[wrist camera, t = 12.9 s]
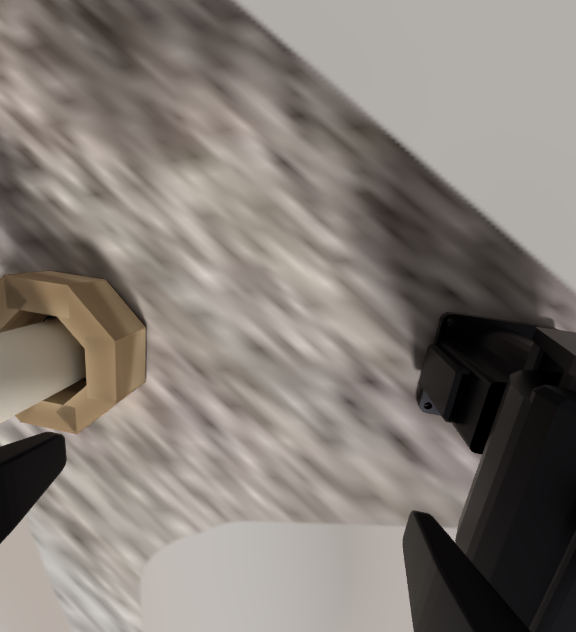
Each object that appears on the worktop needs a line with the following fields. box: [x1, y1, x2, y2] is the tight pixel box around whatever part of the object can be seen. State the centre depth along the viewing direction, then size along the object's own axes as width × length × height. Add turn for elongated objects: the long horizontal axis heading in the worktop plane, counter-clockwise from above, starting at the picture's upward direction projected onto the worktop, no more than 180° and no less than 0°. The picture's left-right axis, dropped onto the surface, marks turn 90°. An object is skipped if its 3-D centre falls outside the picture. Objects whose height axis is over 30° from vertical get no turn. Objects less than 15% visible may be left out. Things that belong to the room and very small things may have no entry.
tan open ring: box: [0, 271, 146, 434], centre depth 20 cm, size 10×10×3 cm
